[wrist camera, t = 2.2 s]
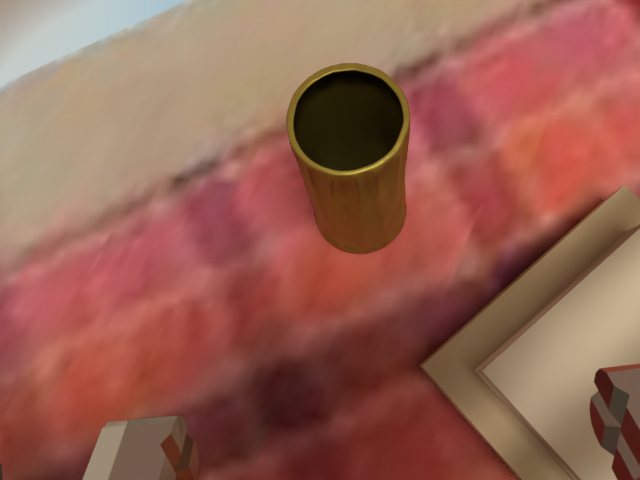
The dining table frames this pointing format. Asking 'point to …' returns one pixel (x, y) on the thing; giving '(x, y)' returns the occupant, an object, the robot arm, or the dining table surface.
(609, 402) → the robot arm
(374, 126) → the vase
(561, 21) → the dining table surface
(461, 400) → the pedestal
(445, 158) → the dining table surface
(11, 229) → the dining table surface
